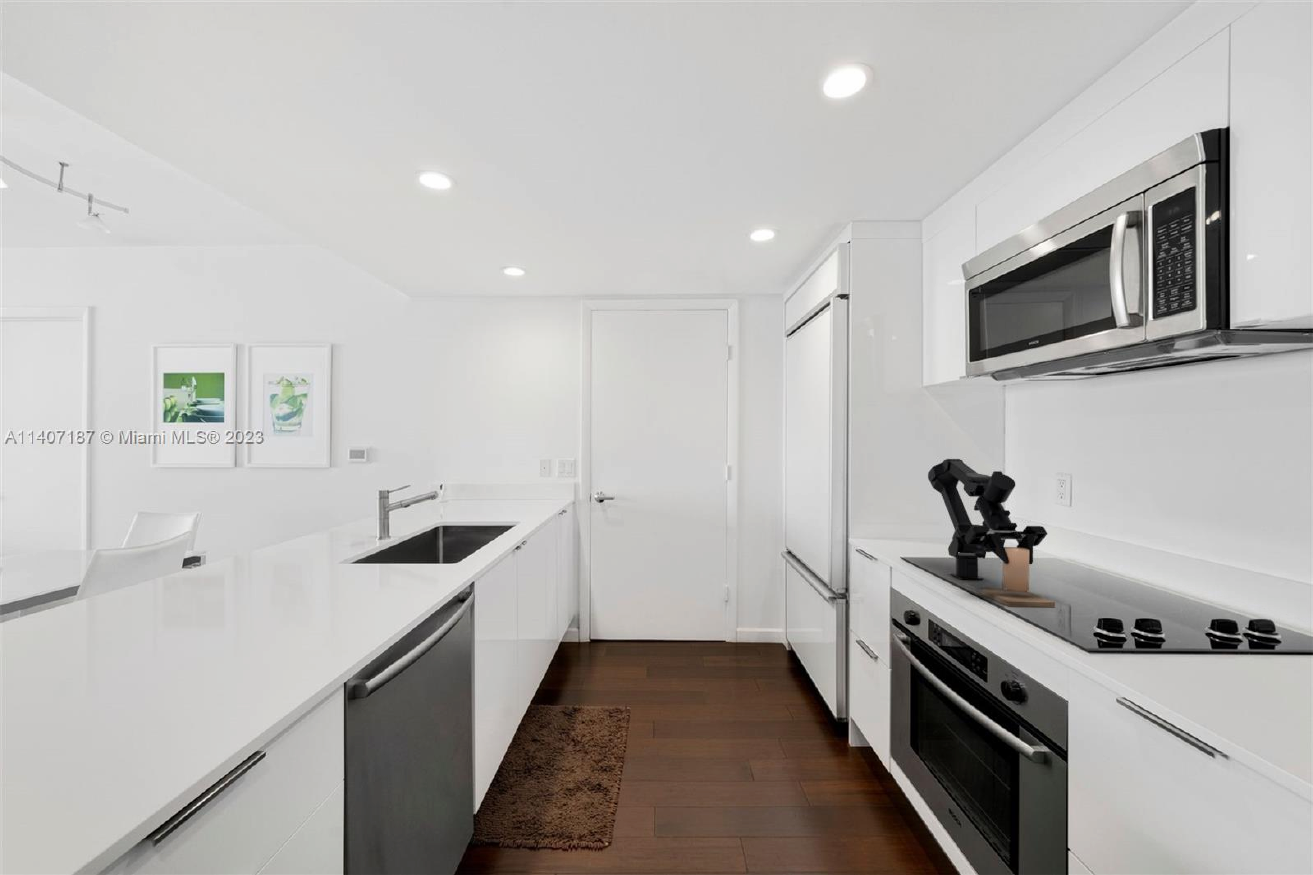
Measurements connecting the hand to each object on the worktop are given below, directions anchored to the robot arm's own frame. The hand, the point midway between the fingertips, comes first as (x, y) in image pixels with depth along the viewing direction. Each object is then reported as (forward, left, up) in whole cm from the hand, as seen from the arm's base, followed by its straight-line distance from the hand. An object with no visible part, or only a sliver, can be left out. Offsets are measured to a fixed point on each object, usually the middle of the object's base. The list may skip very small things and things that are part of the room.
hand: (1019, 563), depth 140 cm
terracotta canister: (-1, 0, -7) cm, 7 cm away
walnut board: (-1, 0, -10) cm, 10 cm away
